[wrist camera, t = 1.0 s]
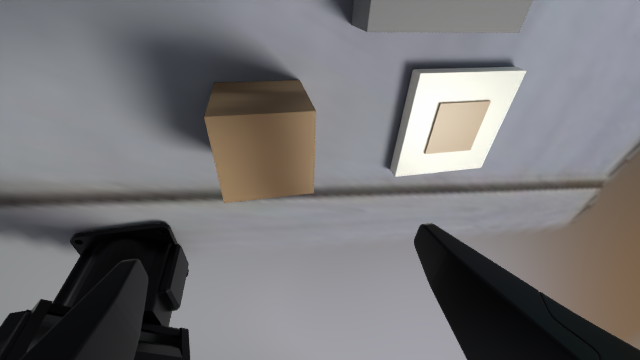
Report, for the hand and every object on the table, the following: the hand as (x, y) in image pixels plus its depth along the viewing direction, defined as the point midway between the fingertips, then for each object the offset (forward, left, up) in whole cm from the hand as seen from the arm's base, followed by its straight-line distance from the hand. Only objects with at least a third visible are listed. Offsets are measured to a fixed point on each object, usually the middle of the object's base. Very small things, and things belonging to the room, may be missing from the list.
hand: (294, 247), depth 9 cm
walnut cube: (-1, 0, -11) cm, 11 cm away
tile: (+13, -1, -11) cm, 17 cm away
